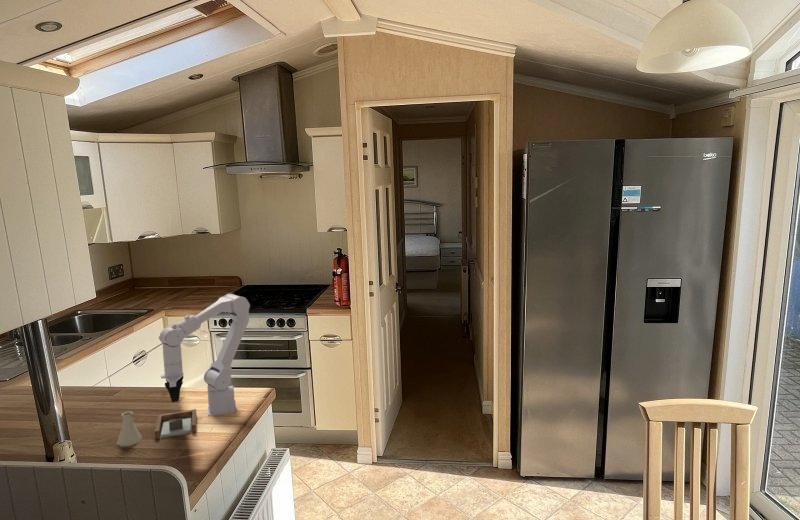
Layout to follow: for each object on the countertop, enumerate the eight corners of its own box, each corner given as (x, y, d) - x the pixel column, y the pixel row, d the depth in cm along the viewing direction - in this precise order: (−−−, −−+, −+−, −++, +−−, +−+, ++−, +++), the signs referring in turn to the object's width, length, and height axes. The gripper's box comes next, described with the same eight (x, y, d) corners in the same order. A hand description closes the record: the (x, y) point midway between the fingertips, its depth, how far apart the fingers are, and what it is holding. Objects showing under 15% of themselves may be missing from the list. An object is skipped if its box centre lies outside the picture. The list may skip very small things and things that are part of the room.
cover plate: (191, 420, 176) (190, 409, 176) (190, 432, 167) (189, 421, 167) (163, 424, 173) (162, 413, 173) (161, 437, 164) (160, 426, 163)
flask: (131, 449, 158) (128, 419, 156) (111, 446, 159) (109, 417, 158) (147, 438, 165) (144, 409, 163) (128, 436, 166) (125, 407, 165)
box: (196, 417, 180) (196, 409, 179) (196, 433, 167) (195, 424, 167) (159, 423, 175) (158, 414, 175) (155, 440, 163) (154, 431, 163)
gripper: (161, 357, 176) (164, 393, 178) (158, 370, 163) (161, 409, 165) (183, 354, 179) (185, 390, 180) (181, 367, 165) (184, 406, 167)
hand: (175, 399), depth 173 cm, fingers open, 3 cm apart
